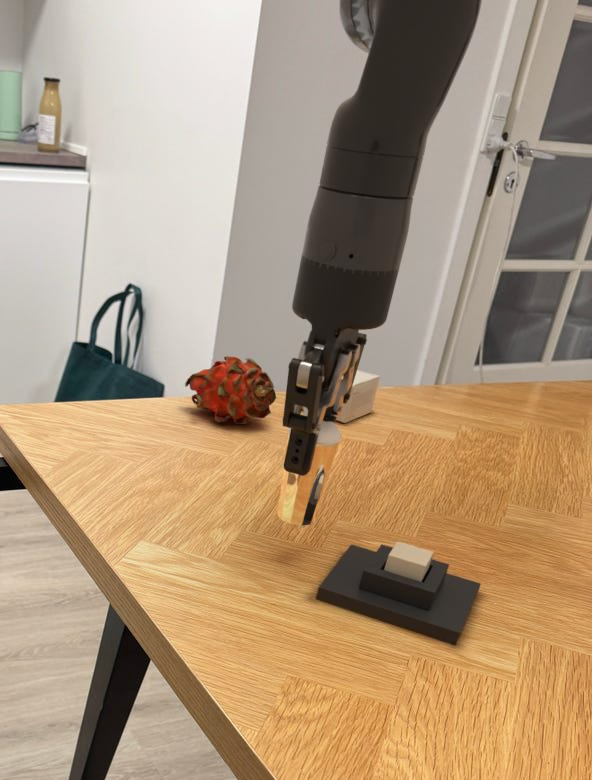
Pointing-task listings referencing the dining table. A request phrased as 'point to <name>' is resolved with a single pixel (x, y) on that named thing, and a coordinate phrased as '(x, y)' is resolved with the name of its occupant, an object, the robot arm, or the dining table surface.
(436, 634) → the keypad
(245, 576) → the dining table surface
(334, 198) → the robot arm
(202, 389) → the dragon fruit
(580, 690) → the dining table surface
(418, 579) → the beige square block
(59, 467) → the dining table surface
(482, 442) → the dining table surface
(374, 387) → the small box
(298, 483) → the milkshake
